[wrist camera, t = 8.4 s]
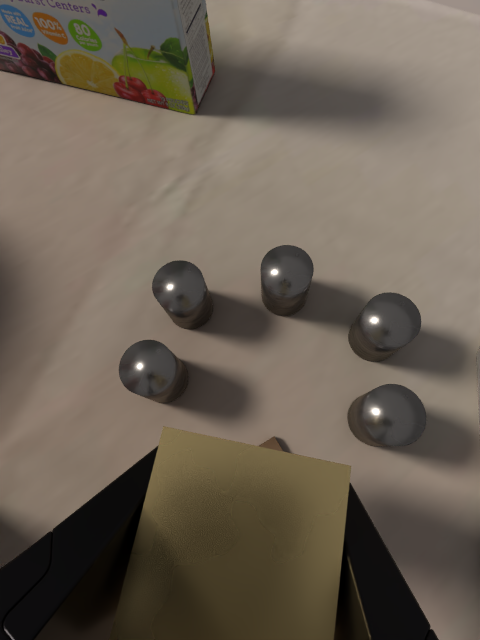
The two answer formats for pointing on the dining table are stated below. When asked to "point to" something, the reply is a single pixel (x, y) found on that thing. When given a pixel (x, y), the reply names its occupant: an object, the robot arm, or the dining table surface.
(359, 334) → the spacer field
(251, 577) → the khaki tall block
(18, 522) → the dining table surface
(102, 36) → the snack box
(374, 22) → the dining table surface
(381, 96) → the dining table surface
